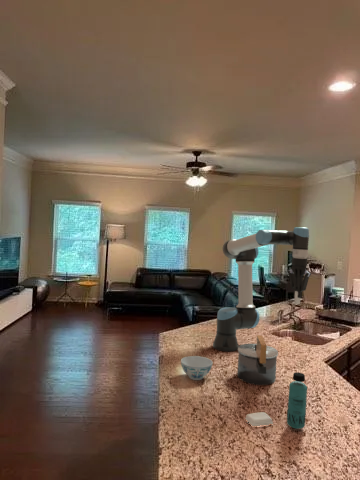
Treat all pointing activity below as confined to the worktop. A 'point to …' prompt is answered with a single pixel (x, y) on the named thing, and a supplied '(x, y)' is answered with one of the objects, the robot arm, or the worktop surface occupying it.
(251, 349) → the lid
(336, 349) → the worktop surface
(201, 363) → the chinaware
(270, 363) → the pot
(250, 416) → the soap
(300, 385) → the beverage bottle
